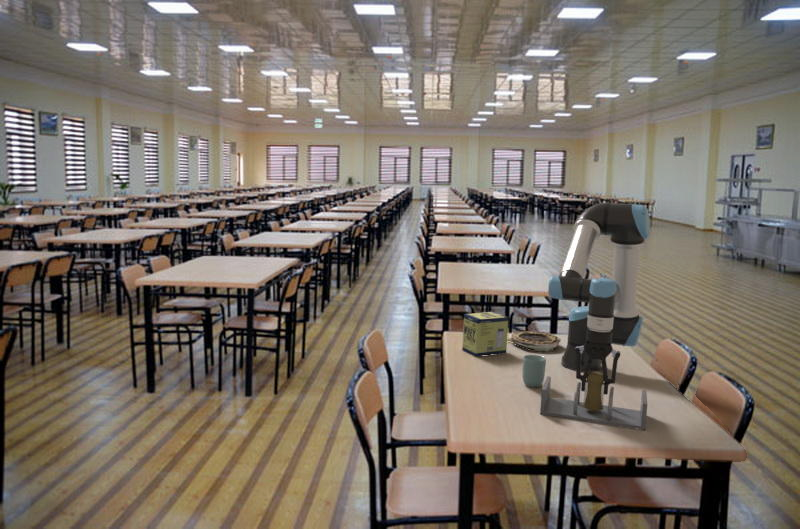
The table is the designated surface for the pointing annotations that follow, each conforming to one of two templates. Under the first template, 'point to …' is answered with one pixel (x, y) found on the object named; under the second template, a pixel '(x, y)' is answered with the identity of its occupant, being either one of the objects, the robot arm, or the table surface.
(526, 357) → the cup
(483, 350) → the protein box
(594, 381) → the cork
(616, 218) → the robot arm
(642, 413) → the rack
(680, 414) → the table surface
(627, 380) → the table surface
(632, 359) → the table surface
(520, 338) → the pie
